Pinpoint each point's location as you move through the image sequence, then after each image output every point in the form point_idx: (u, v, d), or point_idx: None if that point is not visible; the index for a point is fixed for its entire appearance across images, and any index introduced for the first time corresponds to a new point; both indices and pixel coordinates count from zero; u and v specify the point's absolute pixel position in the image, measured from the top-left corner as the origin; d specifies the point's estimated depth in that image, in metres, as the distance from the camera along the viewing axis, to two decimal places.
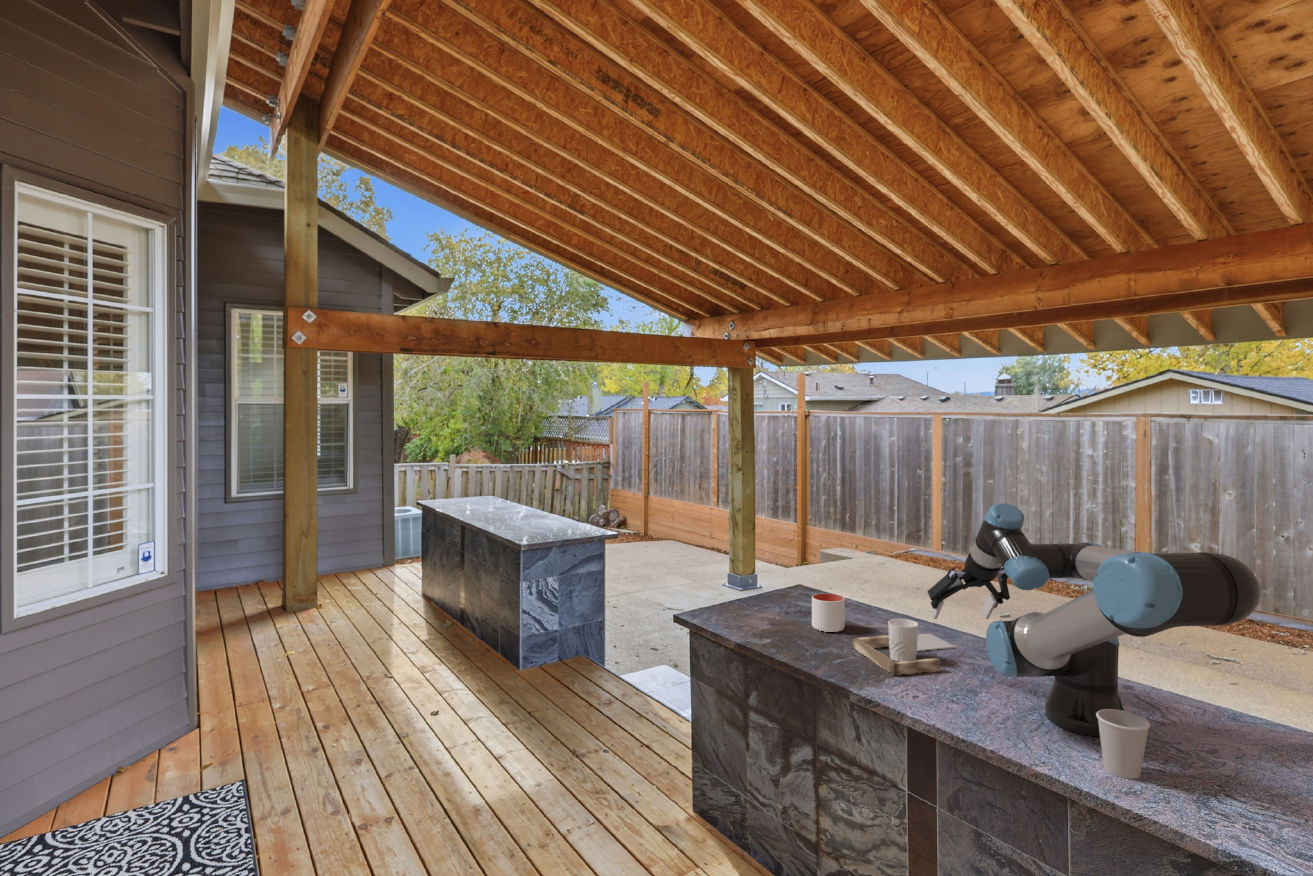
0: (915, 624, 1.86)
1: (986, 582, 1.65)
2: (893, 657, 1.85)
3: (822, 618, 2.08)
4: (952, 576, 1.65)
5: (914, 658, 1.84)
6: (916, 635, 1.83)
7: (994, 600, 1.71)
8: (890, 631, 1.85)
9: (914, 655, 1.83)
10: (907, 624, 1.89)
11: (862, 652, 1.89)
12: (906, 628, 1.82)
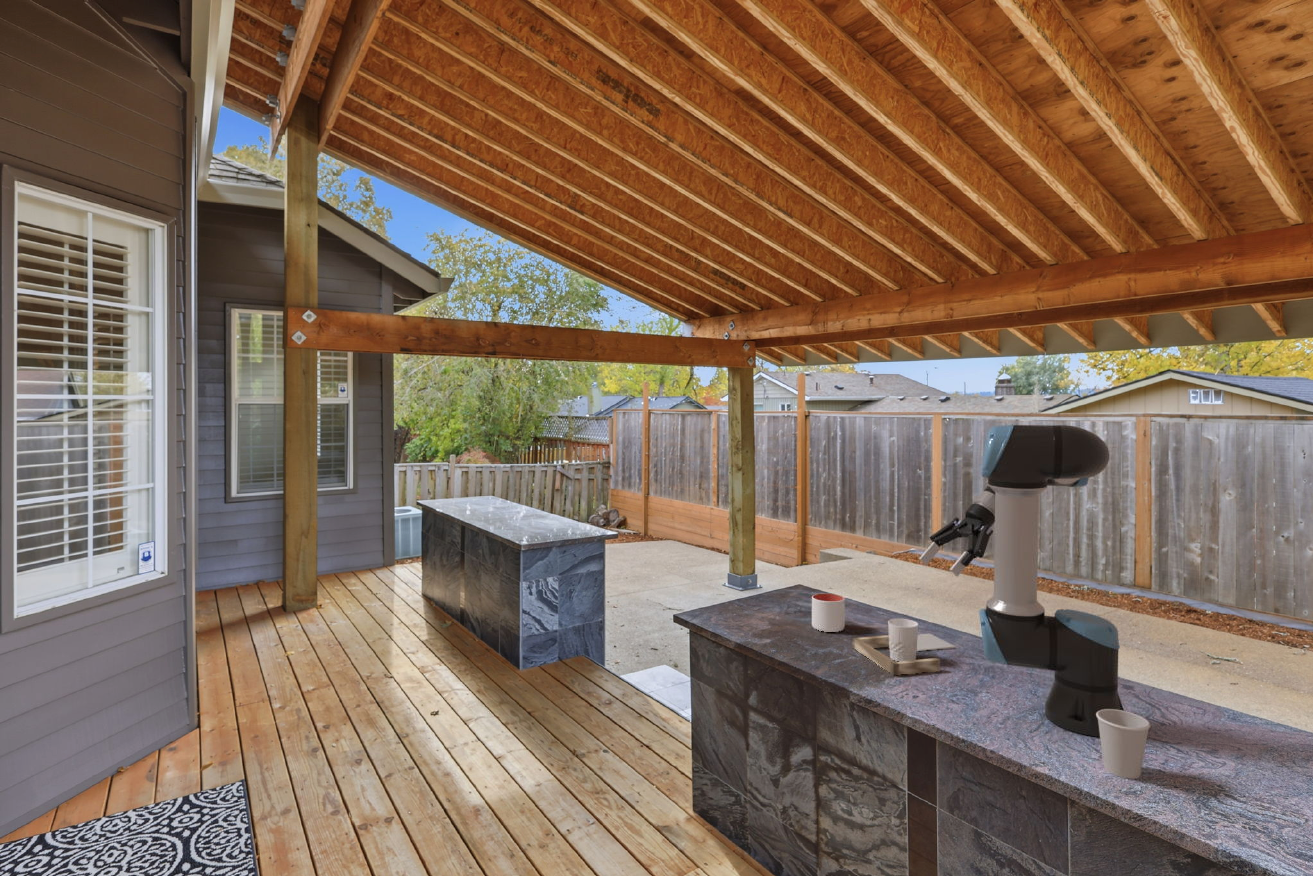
0: (915, 624, 1.86)
1: (969, 524, 1.88)
2: (893, 657, 1.85)
3: (822, 618, 2.08)
4: None
5: (914, 658, 1.84)
6: (916, 635, 1.83)
7: None
8: (890, 631, 1.85)
9: (914, 655, 1.83)
10: (907, 624, 1.89)
11: (862, 652, 1.89)
12: (906, 628, 1.82)
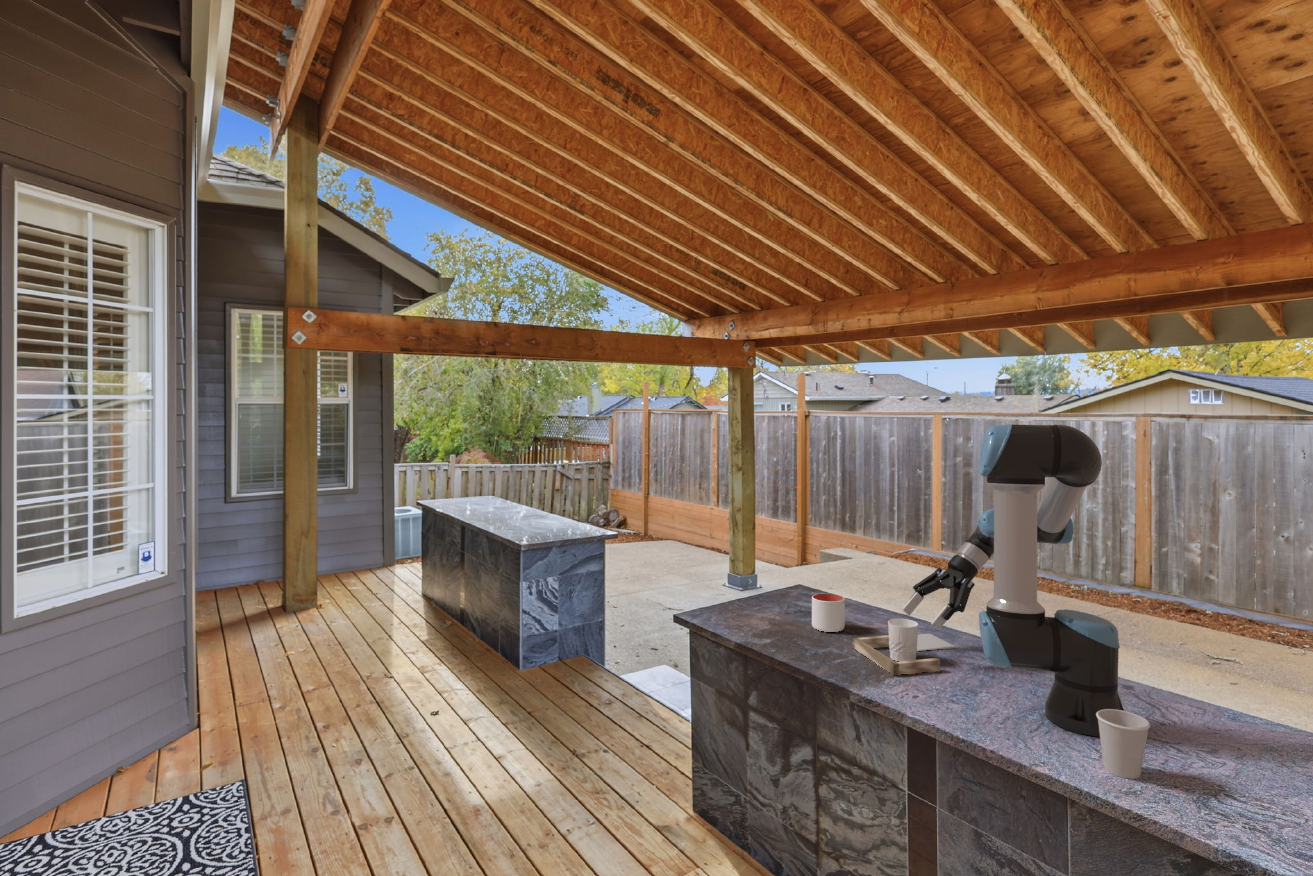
0: (915, 624, 1.86)
1: (951, 576, 1.88)
2: (893, 657, 1.85)
3: (822, 618, 2.08)
4: None
5: (914, 658, 1.84)
6: (916, 635, 1.83)
7: None
8: (890, 631, 1.85)
9: (914, 655, 1.83)
10: (907, 624, 1.89)
11: (862, 652, 1.89)
12: (906, 628, 1.82)
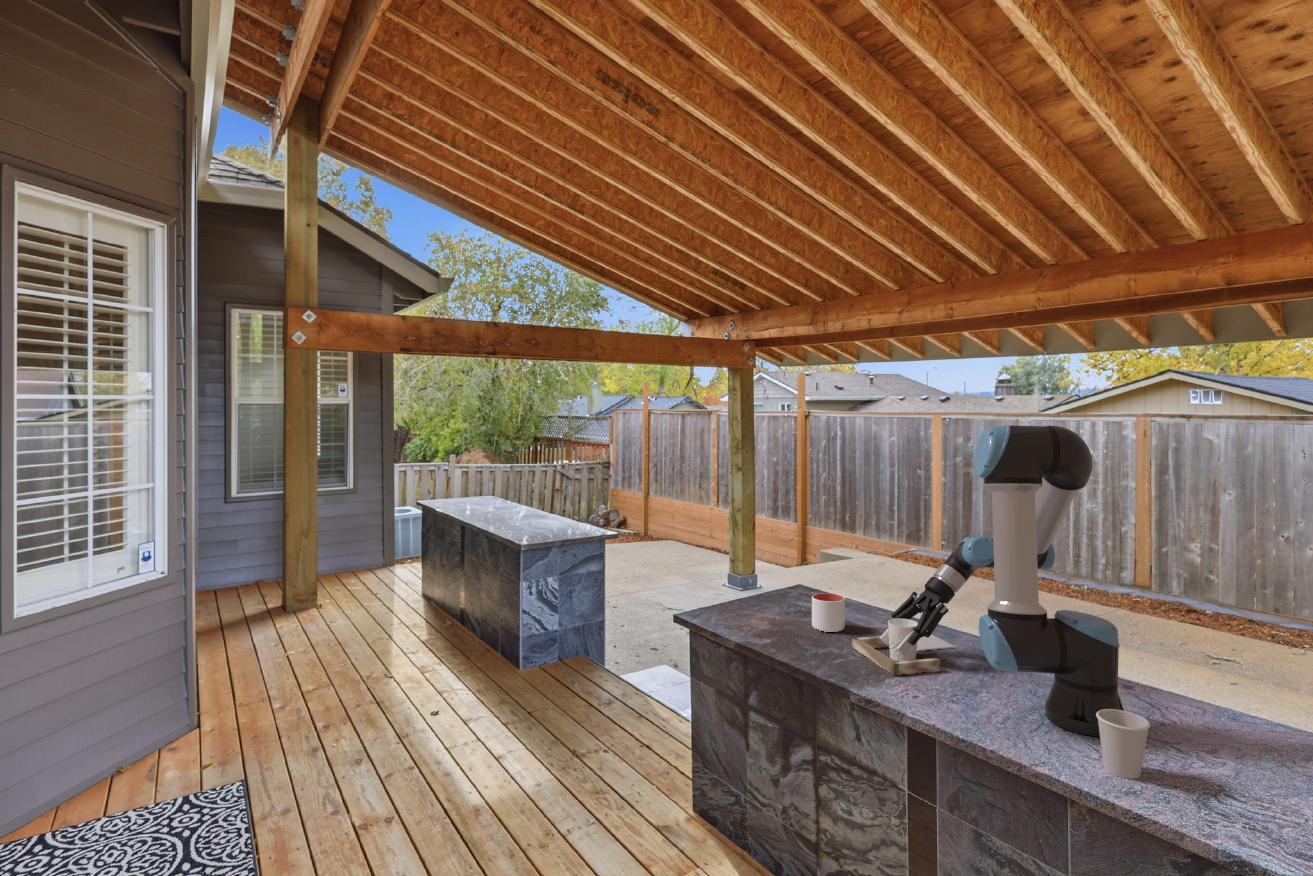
0: (915, 624, 1.86)
1: (928, 599, 1.86)
2: (893, 657, 1.85)
3: (822, 618, 2.08)
4: None
5: (914, 658, 1.84)
6: None
7: None
8: (890, 631, 1.85)
9: (914, 655, 1.83)
10: (907, 624, 1.88)
11: (862, 652, 1.89)
12: (906, 628, 1.82)
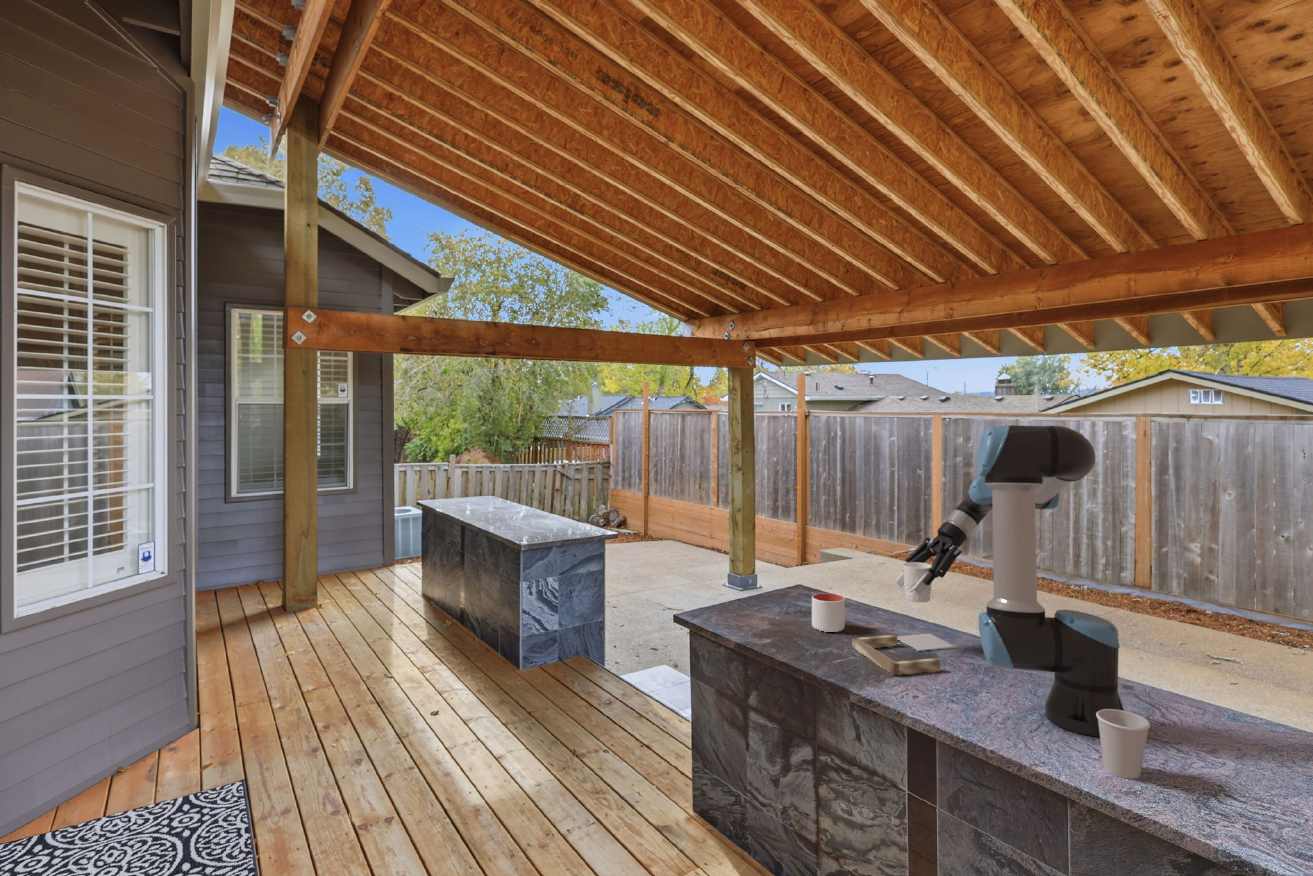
0: (929, 566, 1.95)
1: (941, 542, 1.95)
2: (908, 598, 1.94)
3: (822, 618, 2.08)
4: None
5: (928, 598, 1.93)
6: None
7: None
8: (905, 573, 1.94)
9: (928, 595, 1.93)
10: (921, 567, 1.98)
11: (862, 652, 1.89)
12: (921, 569, 1.91)
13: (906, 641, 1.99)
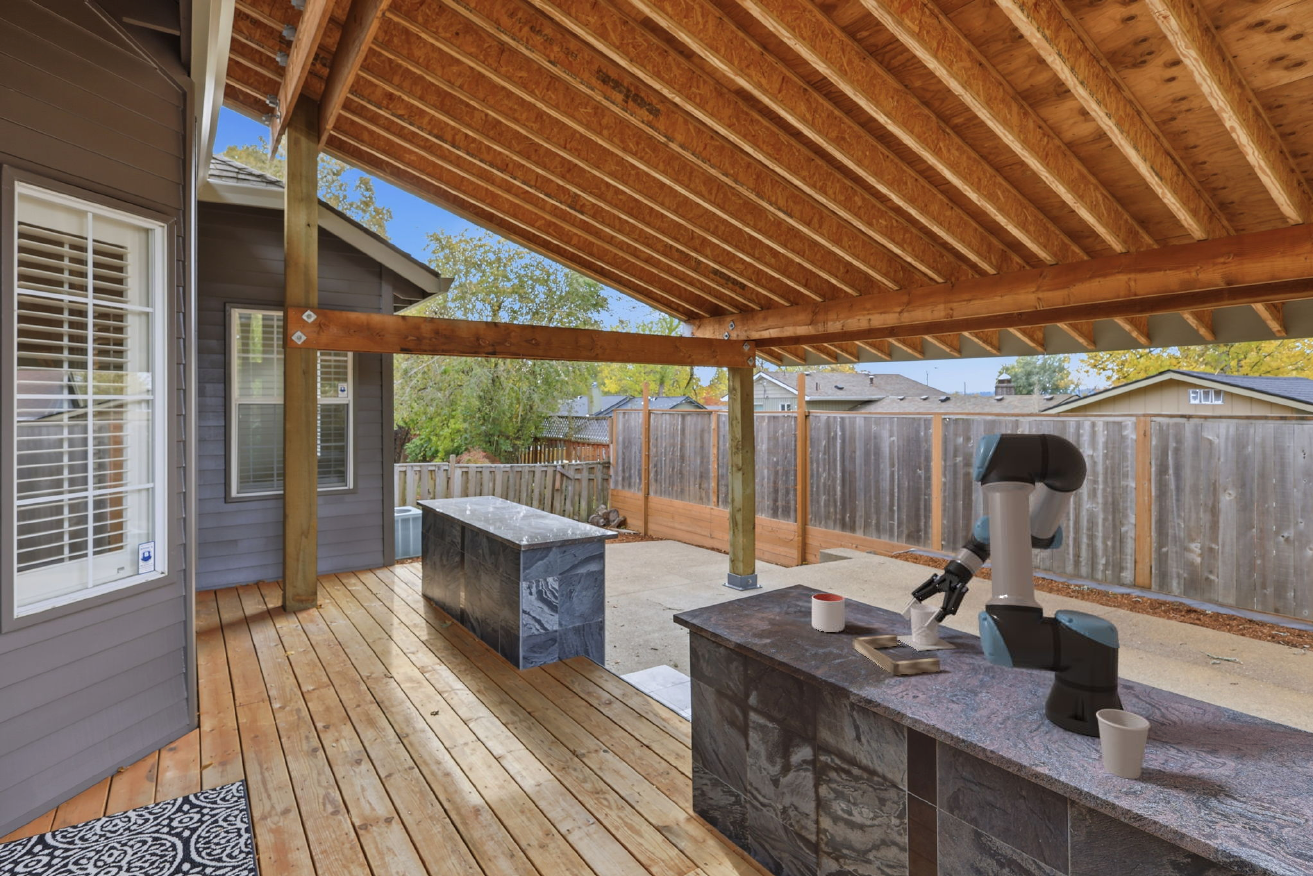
0: (936, 609, 1.99)
1: (948, 580, 1.98)
2: (915, 640, 1.97)
3: (822, 618, 2.08)
4: None
5: (935, 641, 1.96)
6: None
7: None
8: (913, 616, 1.97)
9: (935, 638, 1.96)
10: (928, 609, 2.01)
11: (862, 652, 1.89)
12: (928, 612, 1.94)
13: (906, 641, 1.99)
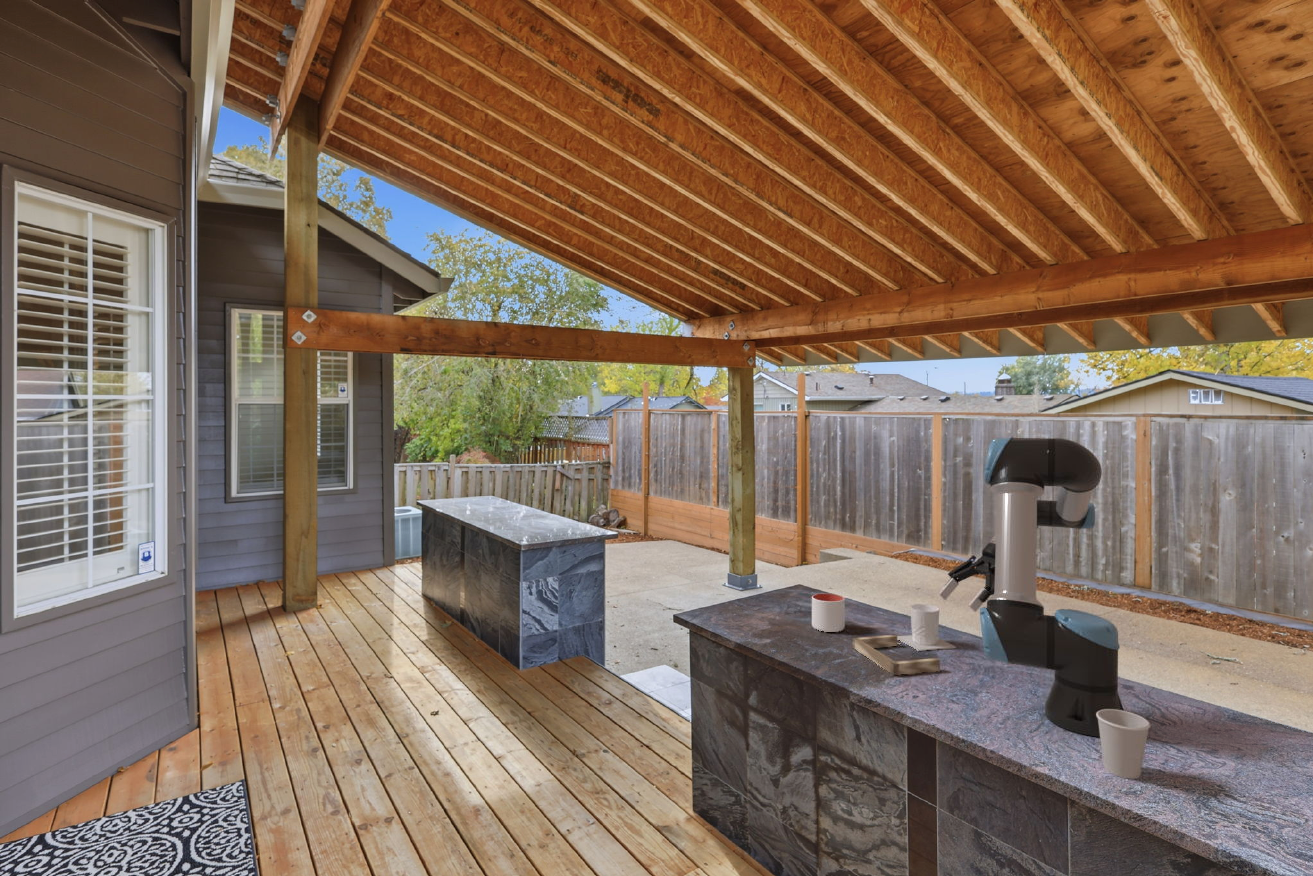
0: (936, 609, 1.99)
1: (986, 562, 2.02)
2: (915, 640, 1.97)
3: (822, 618, 2.08)
4: None
5: (935, 641, 1.96)
6: (937, 619, 1.96)
7: None
8: (913, 615, 1.97)
9: (935, 638, 1.96)
10: (928, 609, 2.01)
11: (862, 652, 1.89)
12: (928, 612, 1.94)
13: (906, 641, 1.99)
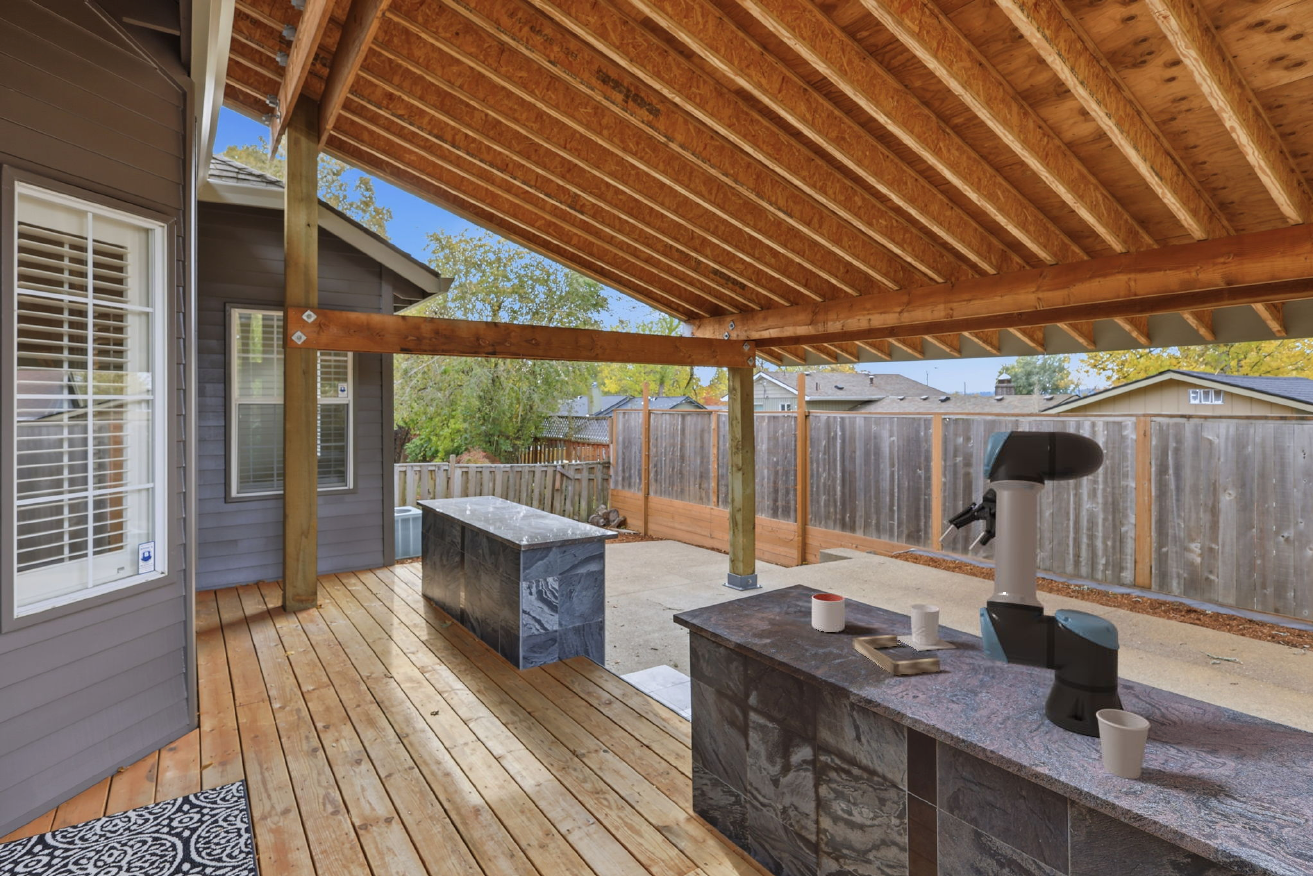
0: (936, 609, 1.99)
1: (987, 507, 2.00)
2: (915, 640, 1.97)
3: (822, 618, 2.08)
4: None
5: (935, 641, 1.96)
6: (937, 619, 1.96)
7: None
8: (913, 615, 1.97)
9: (935, 638, 1.96)
10: (928, 609, 2.01)
11: (862, 652, 1.89)
12: (928, 612, 1.94)
13: (906, 641, 1.99)
